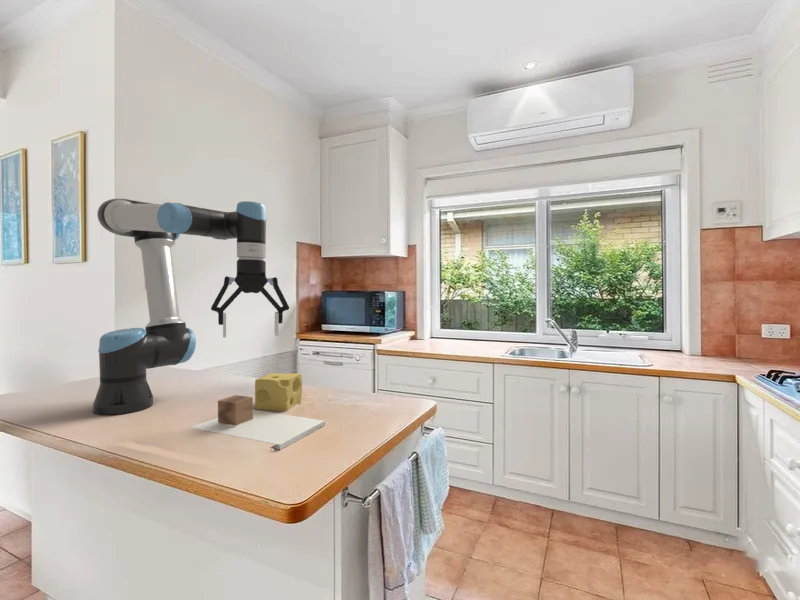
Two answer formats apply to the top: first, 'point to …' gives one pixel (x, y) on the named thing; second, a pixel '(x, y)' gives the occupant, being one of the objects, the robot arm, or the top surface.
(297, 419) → the cutting board
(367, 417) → the top surface
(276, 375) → the cheese
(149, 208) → the robot arm
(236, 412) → the walnut block
